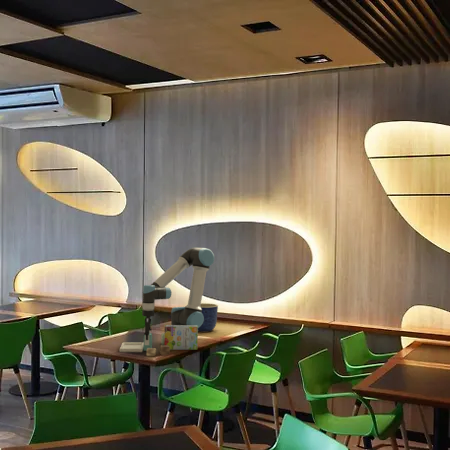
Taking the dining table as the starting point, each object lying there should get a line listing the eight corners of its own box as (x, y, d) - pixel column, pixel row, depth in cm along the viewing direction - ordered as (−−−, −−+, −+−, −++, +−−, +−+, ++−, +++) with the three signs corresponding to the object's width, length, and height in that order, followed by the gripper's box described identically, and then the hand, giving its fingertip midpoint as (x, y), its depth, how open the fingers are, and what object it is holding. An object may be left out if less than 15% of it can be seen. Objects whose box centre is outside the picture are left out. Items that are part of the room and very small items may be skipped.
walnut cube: (167, 353, 381) (167, 345, 381) (169, 354, 377) (169, 346, 377) (159, 353, 380) (159, 345, 380) (161, 355, 375) (161, 347, 375)
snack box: (197, 348, 397) (197, 324, 397) (197, 350, 391) (197, 326, 391) (164, 347, 396) (165, 324, 396) (164, 349, 391) (164, 326, 390)
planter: (221, 332, 454) (222, 306, 454) (195, 333, 446) (195, 307, 446) (211, 327, 473) (212, 302, 473) (186, 328, 466) (186, 303, 465)
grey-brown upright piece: (170, 343, 410) (170, 333, 410) (170, 345, 404) (170, 334, 404) (161, 343, 410) (161, 333, 410) (161, 345, 404) (161, 334, 404)
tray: (144, 345, 402) (144, 342, 402) (142, 352, 382) (142, 348, 382) (122, 345, 401) (122, 342, 401) (119, 352, 381) (119, 348, 381)
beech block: (156, 354, 376) (156, 348, 376) (154, 356, 372) (154, 349, 372) (148, 354, 377) (148, 347, 377) (146, 355, 373) (146, 349, 373)
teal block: (151, 349, 392) (152, 333, 392) (151, 350, 387) (151, 334, 387) (144, 349, 392) (144, 333, 392) (143, 350, 387) (143, 334, 387)
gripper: (143, 306, 401) (142, 339, 401) (141, 312, 376) (140, 346, 376) (155, 306, 402) (154, 339, 402) (153, 312, 377) (152, 347, 377)
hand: (147, 343), depth 389 cm, fingers open, 13 cm apart
